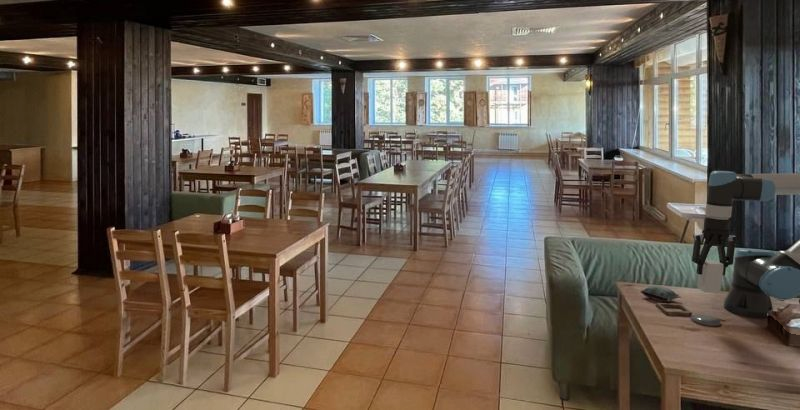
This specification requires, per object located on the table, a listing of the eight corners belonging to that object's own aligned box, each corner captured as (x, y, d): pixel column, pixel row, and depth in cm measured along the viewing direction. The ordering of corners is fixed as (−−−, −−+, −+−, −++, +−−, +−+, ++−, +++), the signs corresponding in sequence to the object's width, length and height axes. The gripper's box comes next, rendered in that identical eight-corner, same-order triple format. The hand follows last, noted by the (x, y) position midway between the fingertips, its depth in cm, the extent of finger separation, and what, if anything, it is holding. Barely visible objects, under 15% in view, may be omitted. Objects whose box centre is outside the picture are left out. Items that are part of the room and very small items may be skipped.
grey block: (712, 288, 185) (716, 260, 184) (720, 292, 180) (723, 264, 179) (697, 287, 186) (701, 259, 184) (704, 292, 181) (708, 263, 179)
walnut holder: (680, 307, 198) (681, 303, 198) (691, 315, 190) (692, 312, 189) (655, 305, 199) (656, 302, 199) (665, 314, 190) (665, 311, 190)
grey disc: (712, 316, 189) (712, 314, 189) (725, 326, 180) (725, 324, 180) (685, 315, 190) (686, 313, 190) (697, 325, 181) (698, 323, 181)
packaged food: (652, 293, 214) (653, 281, 213) (681, 302, 204) (682, 289, 203) (639, 297, 209) (640, 285, 209) (668, 306, 200) (669, 293, 199)
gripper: (739, 216, 182) (731, 281, 186) (684, 214, 183) (677, 279, 187) (752, 220, 174) (743, 288, 178) (694, 218, 176) (687, 286, 180)
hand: (709, 283), depth 183 cm, fingers closed on grey block, 5 cm apart
